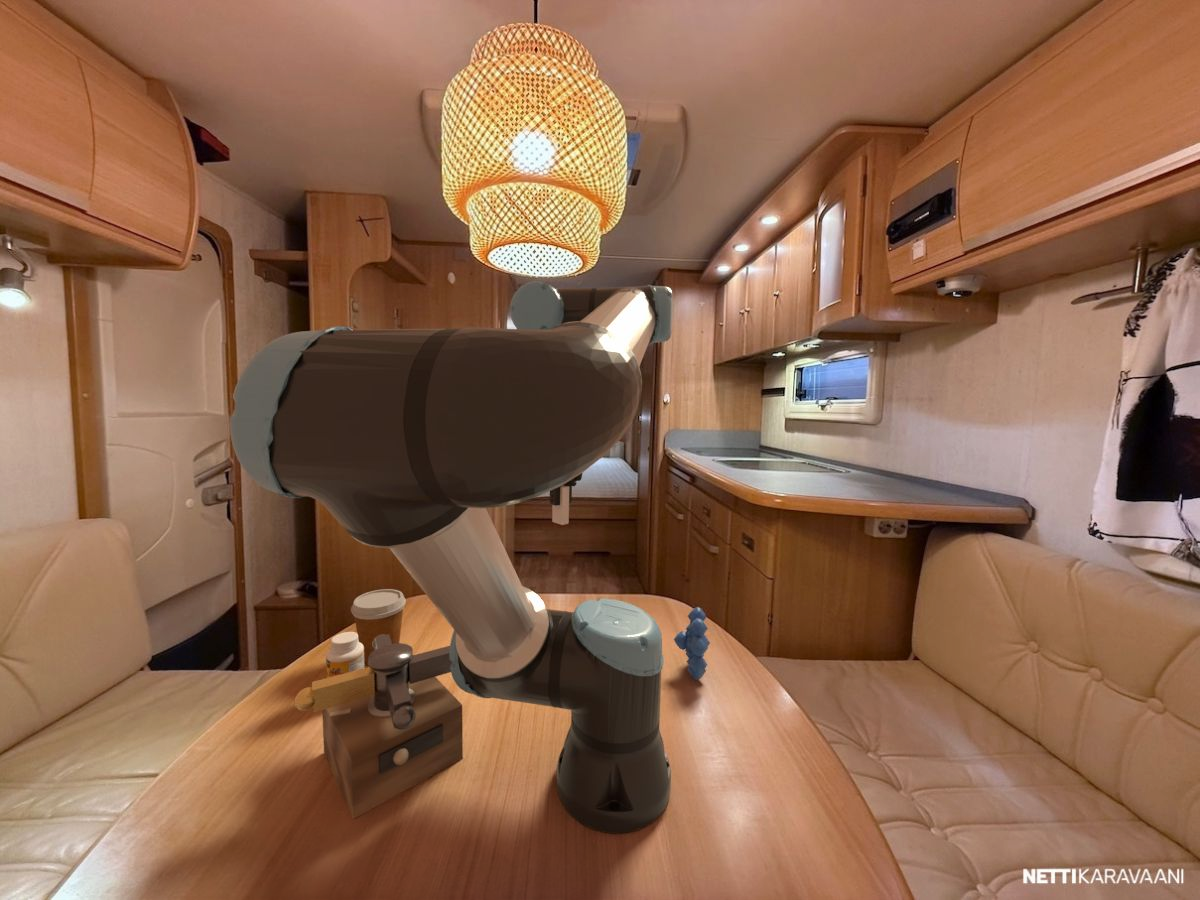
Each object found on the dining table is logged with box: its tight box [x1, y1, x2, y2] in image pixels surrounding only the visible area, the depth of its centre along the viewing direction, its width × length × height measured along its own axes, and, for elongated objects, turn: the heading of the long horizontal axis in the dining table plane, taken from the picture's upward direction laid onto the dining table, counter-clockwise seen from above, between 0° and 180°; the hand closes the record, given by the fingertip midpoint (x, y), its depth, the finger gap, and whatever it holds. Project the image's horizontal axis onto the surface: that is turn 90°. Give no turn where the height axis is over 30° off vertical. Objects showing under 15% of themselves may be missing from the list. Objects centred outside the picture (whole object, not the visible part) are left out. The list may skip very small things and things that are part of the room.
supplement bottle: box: [325, 631, 365, 678], centre depth 76 cm, size 6×6×10 cm
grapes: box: [673, 606, 711, 681], centre depth 85 cm, size 12×7×12 cm, turn 172°
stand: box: [321, 676, 464, 820], centre depth 63 cm, size 16×14×8 cm
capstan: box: [294, 634, 452, 730], centre depth 63 cm, size 22×22×7 cm
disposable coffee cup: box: [350, 588, 407, 667], centre depth 87 cm, size 10×10×12 cm
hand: (560, 522), depth 79 cm, fingers closed
